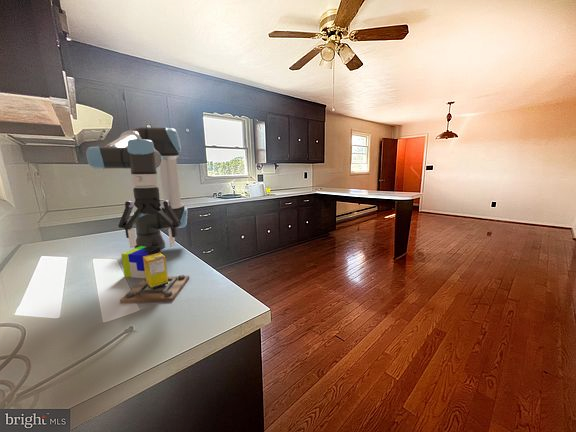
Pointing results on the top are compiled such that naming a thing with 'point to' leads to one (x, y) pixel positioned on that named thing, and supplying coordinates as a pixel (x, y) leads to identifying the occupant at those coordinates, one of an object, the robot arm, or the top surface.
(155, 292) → the base plate
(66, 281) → the top surface
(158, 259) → the supplement box
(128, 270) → the puzzle toy
